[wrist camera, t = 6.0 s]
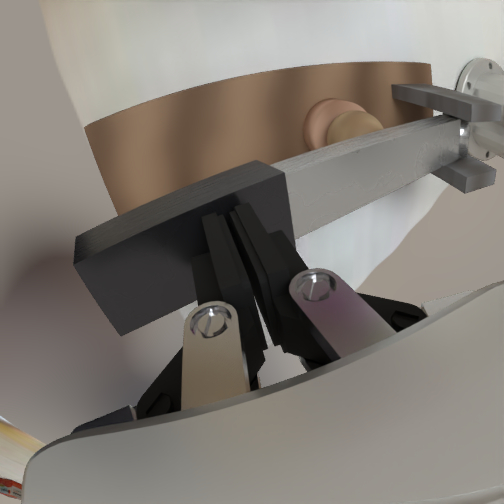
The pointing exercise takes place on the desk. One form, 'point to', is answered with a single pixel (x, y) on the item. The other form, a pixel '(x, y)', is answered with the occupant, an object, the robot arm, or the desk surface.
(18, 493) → the medicine box
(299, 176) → the lever
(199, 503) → the robot arm
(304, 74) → the press base
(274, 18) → the desk surface
